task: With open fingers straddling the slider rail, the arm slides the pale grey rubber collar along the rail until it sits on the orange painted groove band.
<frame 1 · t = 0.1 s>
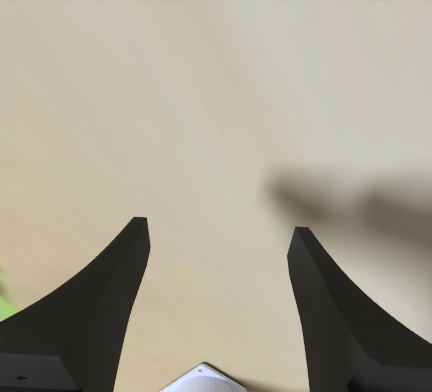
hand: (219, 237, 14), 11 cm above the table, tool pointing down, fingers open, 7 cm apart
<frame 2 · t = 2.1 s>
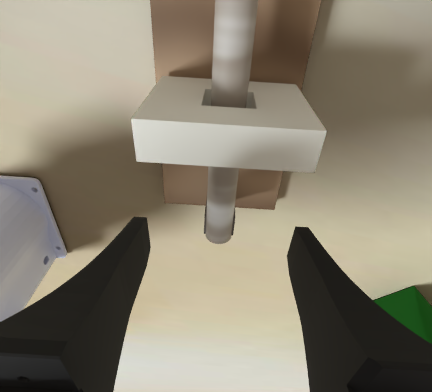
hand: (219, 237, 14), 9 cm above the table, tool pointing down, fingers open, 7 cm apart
milk carton: (391, 309, 33), on the table
collar: (227, 117, 15), point 5 cm above the table, slide at 0.0 cm
slider rail: (231, 38, 17), on the table
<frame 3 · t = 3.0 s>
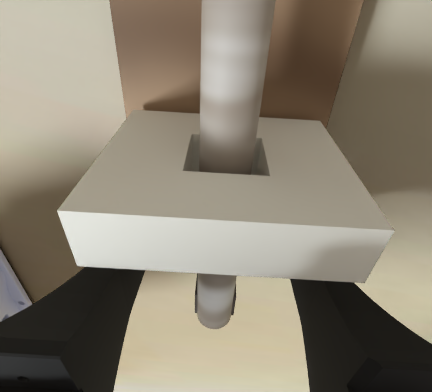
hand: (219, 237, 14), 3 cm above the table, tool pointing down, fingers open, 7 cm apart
collar: (224, 177, 10), point 5 cm above the table, slide at 0.0 cm
slider rail: (230, 56, 12), on the table
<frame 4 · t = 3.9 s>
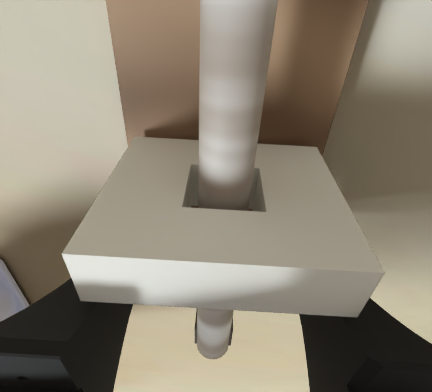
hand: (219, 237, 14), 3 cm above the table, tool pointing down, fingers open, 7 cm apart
collar: (222, 208, 10), point 5 cm above the table, slide at 1.4 cm, touching gripper
slider rail: (226, 114, 13), on the table
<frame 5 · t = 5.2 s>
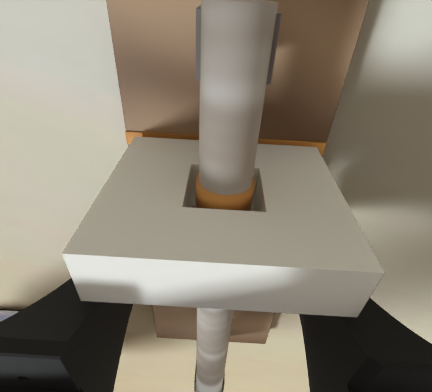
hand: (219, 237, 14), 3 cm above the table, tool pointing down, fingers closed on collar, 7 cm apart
collar: (223, 208, 10), point 5 cm above the table, slide at 8.3 cm, touching gripper
slider rail: (219, 223, 18), on the table
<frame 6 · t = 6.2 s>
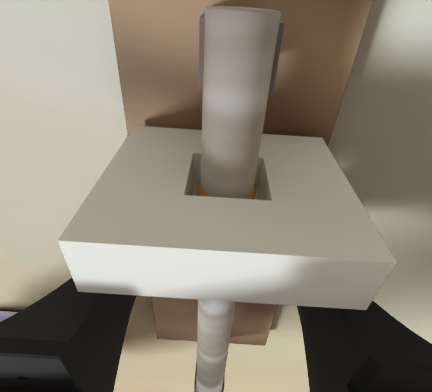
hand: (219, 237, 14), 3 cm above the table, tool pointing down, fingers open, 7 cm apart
collar: (225, 198, 10), point 5 cm above the table, slide at 8.9 cm
slider rail: (219, 225, 18), on the table
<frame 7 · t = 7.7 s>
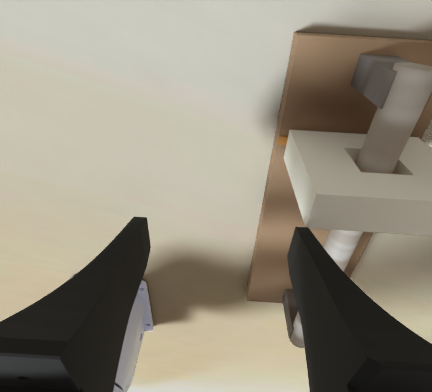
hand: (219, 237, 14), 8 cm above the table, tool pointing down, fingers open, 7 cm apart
collar: (369, 176, 16), point 5 cm above the table, slide at 8.9 cm
slider rail: (318, 204, 23), on the table
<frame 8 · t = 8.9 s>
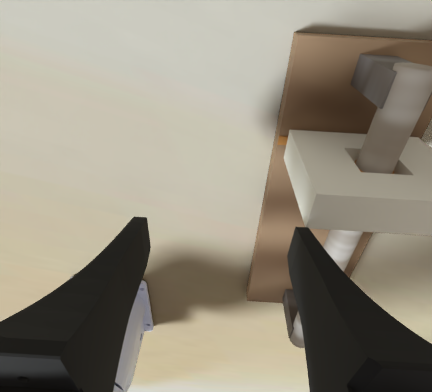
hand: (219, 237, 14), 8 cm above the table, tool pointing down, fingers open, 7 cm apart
collar: (369, 176, 16), point 5 cm above the table, slide at 8.9 cm
slider rail: (318, 204, 23), on the table
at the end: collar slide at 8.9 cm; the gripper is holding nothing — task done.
